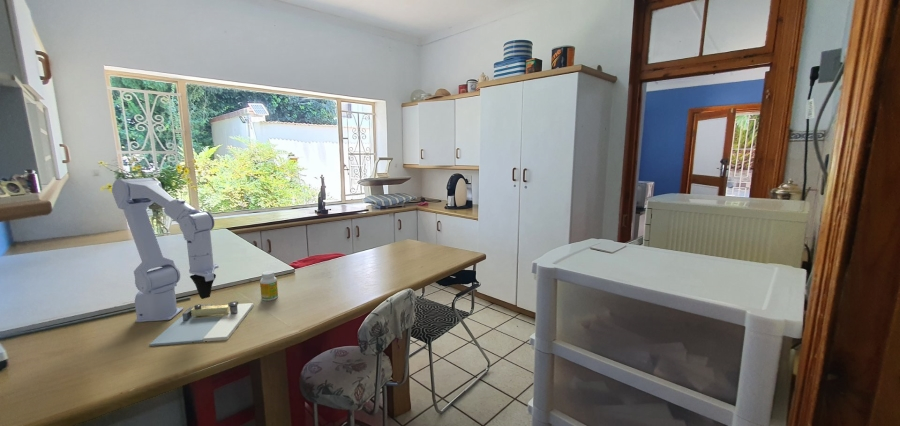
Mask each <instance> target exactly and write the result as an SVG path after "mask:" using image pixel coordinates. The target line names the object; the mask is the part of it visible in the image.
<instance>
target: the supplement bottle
mask: <svg viewBox="0 0 900 426" xmlns="http://www.w3.org/2000/svg"><path fill="white" fill-rule="evenodd" d="M259 284H260V286H259V287H260V296H261V297H260V298H261V300H262V301H264V302H265V301H273V300H276V299H277V298H278V297H279V293H278V292H279V291H278V279H277V277H276V276H275V271H274V270H265V271H263V272H261V279H260V280H259Z"/></svg>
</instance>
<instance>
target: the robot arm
mask: <svg viewBox="0 0 900 426" xmlns="http://www.w3.org/2000/svg"><path fill="white" fill-rule="evenodd" d="M111 193H112V195H113V198H114V201H115V203H116V206H117V208H118V209H120V210H122V211H123V214H124V216H125V220H126V222H127V224H128V228H129V230H130V233H131V235H132V238H133V240H134V245H135V246H136V249H137V252H138V256H139V257H140V260H141V263H140V264H139V265H137V267H136V268H135V269H134V271H133V274H134V284H135V287H136V289H137V290H138V292H137V293H136V294H135V297H134V307H135V315H136V320H135V323H142V322H143V323H144V322H157V321H158V322H159V321H169V320H172V319H173V318H174V317H175V316H177V315H178V314H179V313H180V312H182V311H183V310H184V307H182V306H181V307H178V306H177V298H176V290H175V287H177V285H178V282H179V281H180V280H181V271H180V269H179V267H177V266H176V264H175V262H174V259H170V258H167V257H164V255H163V254H162V249H161V247H160V245H159V243H158V239H157V236H156V233H155V232H154V231H155V230H154V227H153V226H152V222H151V219H150V217H149V214H148V211H147V209H148V207H150V206H151V205H153V204H154V203H155V204H157V205H158V206H160V207H162V208H163V209H164V210H163V211H164V214H165V215H166V216H168V217H169V218H170V219H172V220H173V221H174V222H176V223H178V226H179V229H180V231H181V232H182V235H183V239H184V241H186V246H187V255H188V265H189V269H188V272H189V274H191V275H190V276H189V278H190V279H191V281H192V282H193V283H194V285H195V287H196V290H197V293H198V295H199V297H200V298H201V300H203V299H208V298H210V297H211V293H212V287H213V284H214V282H215V279H216V277H217V275H216V274H215V273H214V272H215V270H216V269H218V268H219V265H218V264H214V257H213V246H212V244H213V243H212V236H211V231H212V230H213V229H214V227H215V219H214V216H213V215H212V214H211V213H210V212H209V211H207V210H202V211H201V210H198V209H196V208H195V207H193V206H192V205H190V204H189V203H187V202H186V200H185V199H183V198H174V197H172V196H171V195H170V194H169V193H168V192H167V191H165V189H164V188H163V186H162V183H161V181H160V180H158V179H157V178H156V177H154V176H152V177H151V176H150V177H143V178H142V177H141V178H140V177H139V178H117V179H115V180H114V182H113V184H112V188H111ZM152 269H153V270H152Z"/></svg>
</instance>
